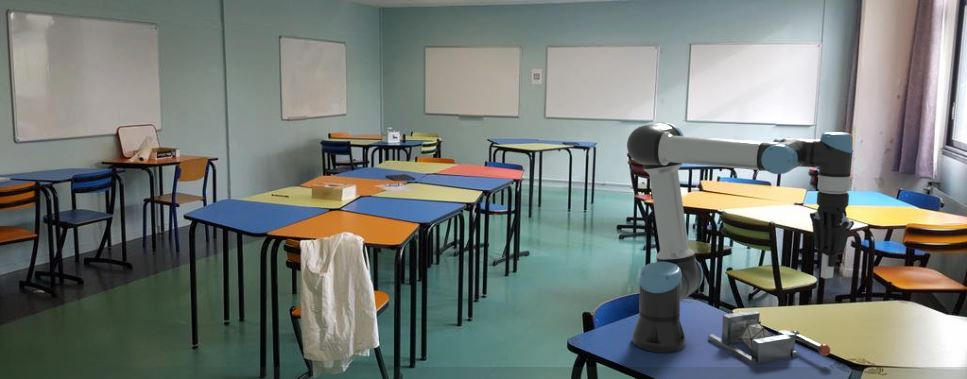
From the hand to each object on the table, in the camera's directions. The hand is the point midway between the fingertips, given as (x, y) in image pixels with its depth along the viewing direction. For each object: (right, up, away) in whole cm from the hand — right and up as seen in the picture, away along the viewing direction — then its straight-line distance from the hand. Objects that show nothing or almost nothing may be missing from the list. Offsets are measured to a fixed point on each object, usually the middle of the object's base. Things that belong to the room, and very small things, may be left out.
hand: (826, 277), depth 186 cm
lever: (-3, -18, +14) cm, 23 cm away
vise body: (-14, -22, +15) cm, 30 cm away
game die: (-14, -23, +13) cm, 30 cm away
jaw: (-16, -22, +19) cm, 33 cm away
